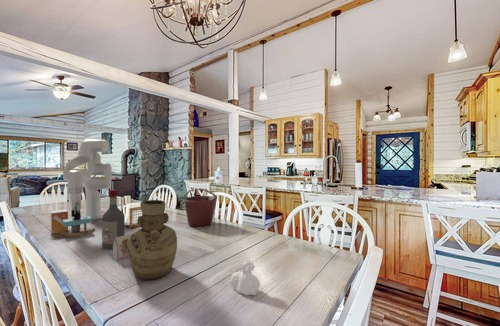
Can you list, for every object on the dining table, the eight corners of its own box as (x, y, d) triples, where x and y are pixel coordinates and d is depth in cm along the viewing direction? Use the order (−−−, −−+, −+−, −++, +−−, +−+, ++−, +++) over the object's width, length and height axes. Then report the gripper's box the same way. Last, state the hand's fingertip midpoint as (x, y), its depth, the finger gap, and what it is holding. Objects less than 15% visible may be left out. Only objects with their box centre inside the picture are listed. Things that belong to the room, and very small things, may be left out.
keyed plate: (64, 227, 137) (64, 222, 137) (62, 224, 141) (62, 219, 141) (91, 222, 147) (91, 218, 146) (89, 220, 151) (89, 216, 151)
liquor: (114, 250, 120) (114, 191, 119) (99, 248, 122) (98, 191, 121) (127, 243, 129) (126, 189, 128) (112, 242, 131) (112, 188, 130)
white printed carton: (112, 258, 110) (112, 237, 110) (127, 253, 116) (127, 233, 116) (117, 260, 108) (117, 239, 108) (131, 255, 114) (131, 235, 114)
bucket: (176, 226, 161) (176, 190, 160) (193, 218, 182) (193, 186, 181) (208, 230, 154) (208, 192, 153) (222, 221, 175) (222, 188, 174)
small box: (51, 234, 142) (51, 213, 142) (50, 231, 147) (50, 211, 146) (68, 231, 148) (68, 211, 147) (67, 229, 152) (66, 209, 152)
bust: (260, 301, 83) (269, 268, 88) (252, 296, 77) (262, 262, 83) (232, 291, 89) (241, 260, 94) (222, 286, 83) (233, 254, 89)
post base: (73, 230, 151) (73, 214, 150) (94, 230, 150) (94, 214, 150) (54, 237, 137) (54, 220, 136) (78, 237, 136) (78, 220, 136)
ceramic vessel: (133, 263, 106) (133, 197, 105) (180, 261, 108) (181, 196, 107) (112, 286, 87) (112, 206, 86) (171, 284, 89) (171, 205, 88)
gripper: (65, 189, 146) (66, 216, 147) (70, 193, 134) (70, 222, 135) (80, 188, 152) (80, 214, 152) (85, 191, 139) (86, 220, 140)
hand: (76, 218), depth 144 cm, fingers open, 9 cm apart
